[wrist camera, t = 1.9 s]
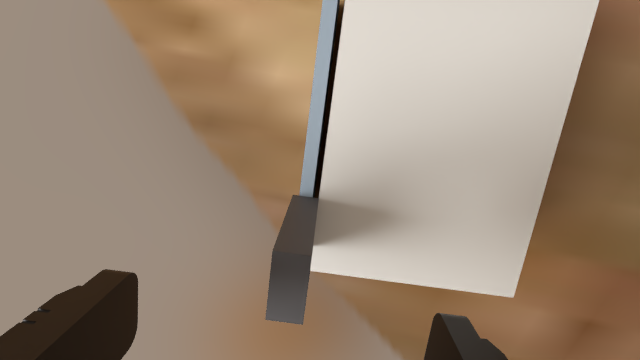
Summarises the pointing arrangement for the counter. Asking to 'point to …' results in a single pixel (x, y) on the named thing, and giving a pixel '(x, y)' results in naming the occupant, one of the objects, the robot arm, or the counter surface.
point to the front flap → (303, 194)
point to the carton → (444, 137)
